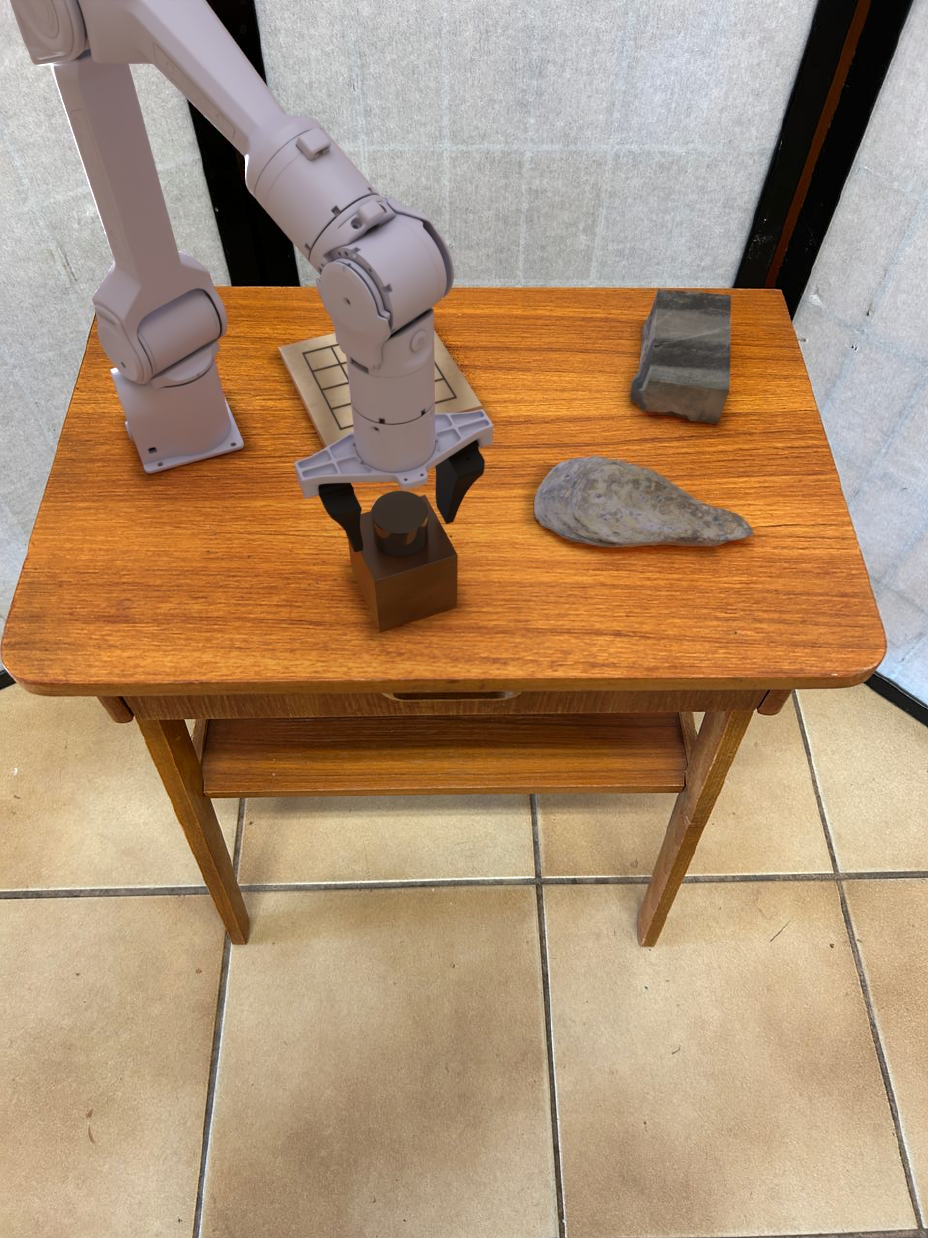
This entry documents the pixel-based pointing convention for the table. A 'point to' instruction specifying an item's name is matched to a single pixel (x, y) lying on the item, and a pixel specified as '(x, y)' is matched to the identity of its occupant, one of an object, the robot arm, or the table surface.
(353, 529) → the robot arm
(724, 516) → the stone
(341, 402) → the grid board
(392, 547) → the black cylinder
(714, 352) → the stone block
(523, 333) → the table surface
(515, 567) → the table surface
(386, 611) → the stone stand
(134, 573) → the table surface
